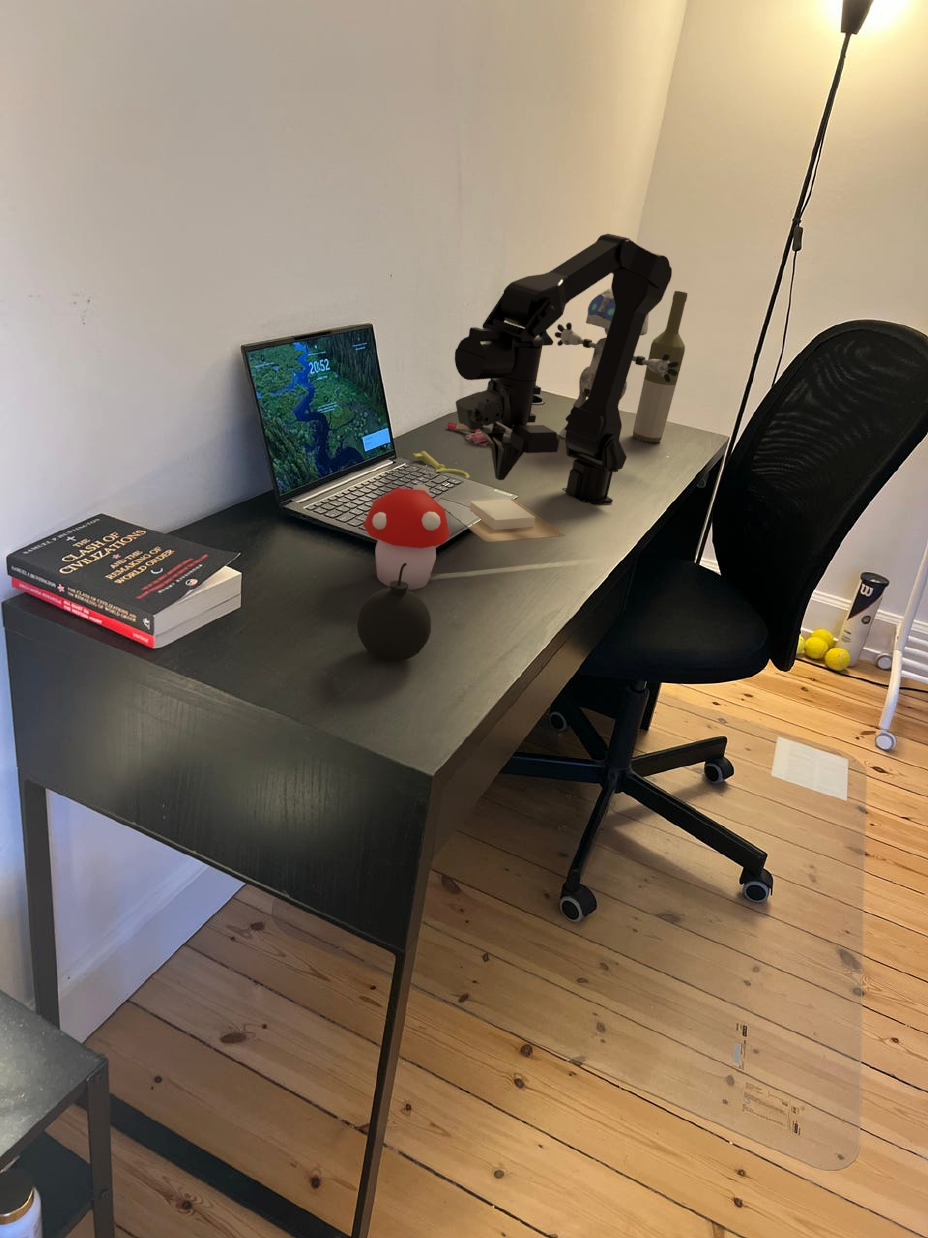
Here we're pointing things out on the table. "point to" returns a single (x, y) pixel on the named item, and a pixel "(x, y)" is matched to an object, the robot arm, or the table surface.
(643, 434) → the bottle
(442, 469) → the key
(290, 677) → the table surface
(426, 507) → the mushroom
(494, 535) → the mat
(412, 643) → the bomb
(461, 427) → the toy
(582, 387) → the toy robot
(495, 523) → the tile
